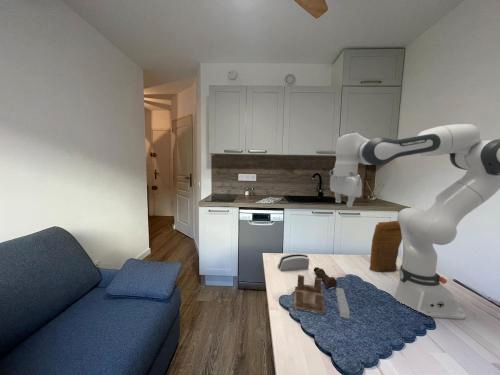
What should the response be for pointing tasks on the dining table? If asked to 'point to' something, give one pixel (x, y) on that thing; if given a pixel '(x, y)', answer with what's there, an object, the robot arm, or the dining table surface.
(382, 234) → the pancake mix bag
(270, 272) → the dining table surface
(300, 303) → the clevis block
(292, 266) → the grey napkin holder
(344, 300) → the steel pin
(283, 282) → the dining table surface
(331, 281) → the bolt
